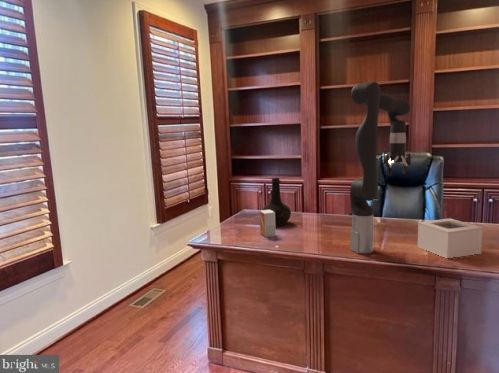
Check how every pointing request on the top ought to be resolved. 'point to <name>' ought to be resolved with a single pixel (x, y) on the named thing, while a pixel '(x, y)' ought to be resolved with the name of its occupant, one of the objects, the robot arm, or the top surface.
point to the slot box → (450, 238)
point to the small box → (267, 223)
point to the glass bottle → (278, 204)
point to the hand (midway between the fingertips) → (396, 174)
